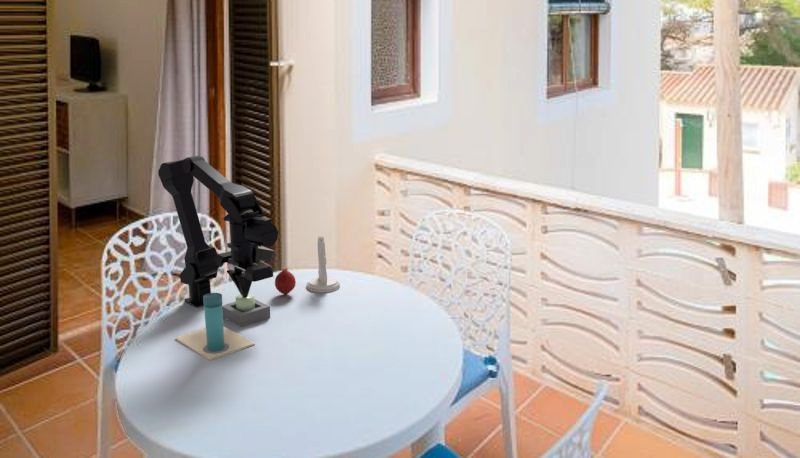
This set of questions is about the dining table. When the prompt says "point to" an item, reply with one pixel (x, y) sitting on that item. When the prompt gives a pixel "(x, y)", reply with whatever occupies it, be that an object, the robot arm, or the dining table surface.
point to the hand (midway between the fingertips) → (244, 297)
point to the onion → (285, 282)
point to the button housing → (246, 313)
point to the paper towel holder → (322, 273)
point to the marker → (214, 321)
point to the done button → (245, 303)
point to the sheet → (199, 343)
